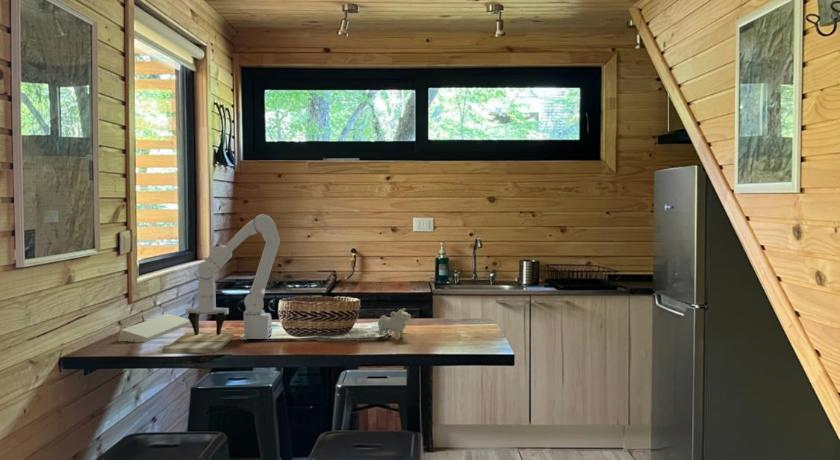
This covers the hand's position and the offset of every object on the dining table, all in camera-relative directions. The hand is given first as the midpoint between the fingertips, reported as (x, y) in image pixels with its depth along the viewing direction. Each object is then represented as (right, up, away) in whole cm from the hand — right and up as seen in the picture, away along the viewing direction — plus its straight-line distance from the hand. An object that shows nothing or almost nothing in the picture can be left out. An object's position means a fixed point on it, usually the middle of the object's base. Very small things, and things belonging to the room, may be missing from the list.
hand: (207, 334), depth 238 cm
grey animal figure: (+65, -2, +4) cm, 65 cm away
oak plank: (0, -2, -3) cm, 4 cm away
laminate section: (0, -3, -13) cm, 14 cm away
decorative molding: (-24, -3, +16) cm, 29 cm away
